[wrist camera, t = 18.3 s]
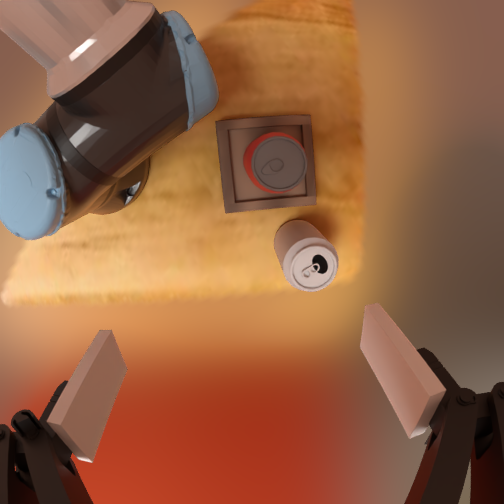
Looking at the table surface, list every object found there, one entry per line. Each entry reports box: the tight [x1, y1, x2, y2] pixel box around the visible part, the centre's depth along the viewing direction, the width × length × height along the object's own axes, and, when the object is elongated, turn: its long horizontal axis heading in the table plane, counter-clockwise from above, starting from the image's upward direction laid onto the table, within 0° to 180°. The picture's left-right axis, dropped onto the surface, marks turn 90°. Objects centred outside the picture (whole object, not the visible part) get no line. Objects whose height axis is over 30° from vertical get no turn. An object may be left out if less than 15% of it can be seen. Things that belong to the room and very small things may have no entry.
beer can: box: [243, 132, 308, 193], centre depth 33 cm, size 7×7×12 cm
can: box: [274, 220, 338, 292], centre depth 41 cm, size 8×8×12 cm
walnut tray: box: [215, 115, 316, 213], centre depth 40 cm, size 13×13×5 cm
